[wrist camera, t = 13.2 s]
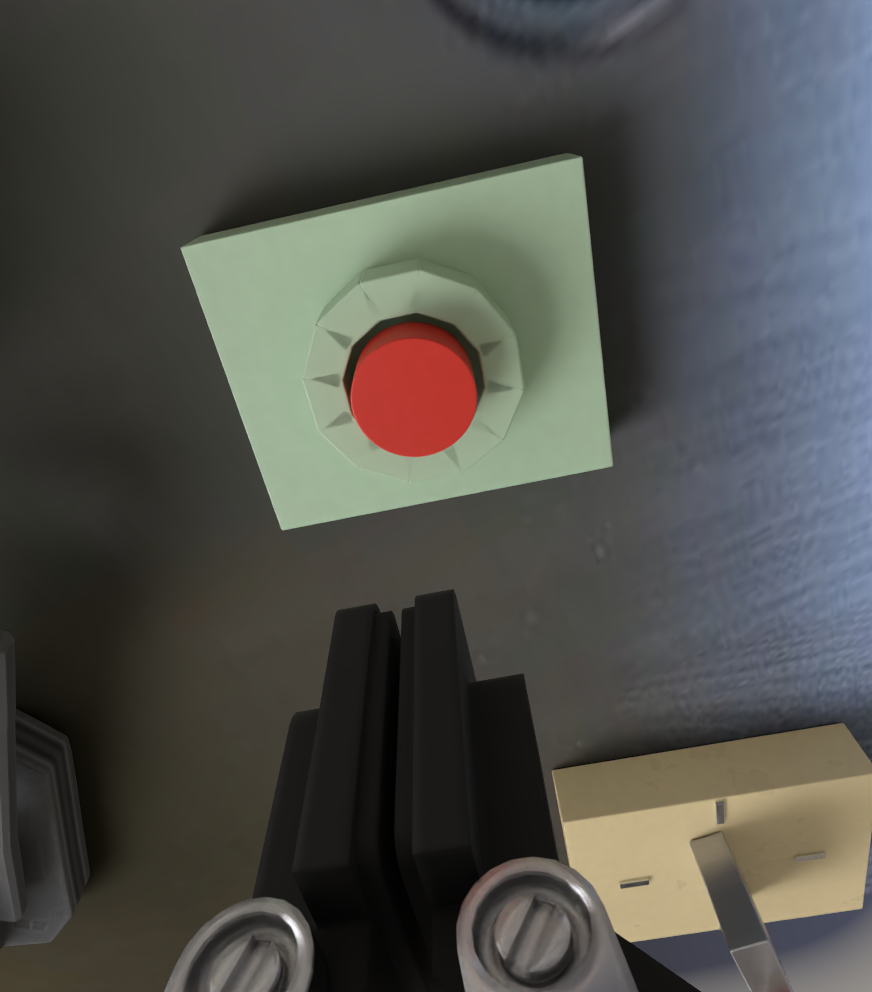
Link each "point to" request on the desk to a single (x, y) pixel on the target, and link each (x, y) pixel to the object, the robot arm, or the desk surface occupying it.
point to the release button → (413, 390)
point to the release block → (413, 298)
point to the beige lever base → (722, 828)
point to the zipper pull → (36, 821)
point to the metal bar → (739, 916)
